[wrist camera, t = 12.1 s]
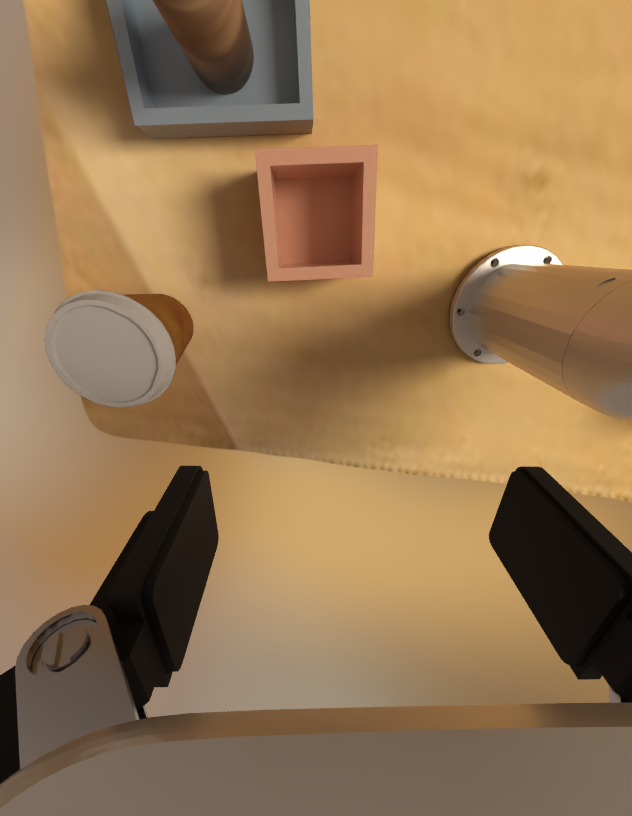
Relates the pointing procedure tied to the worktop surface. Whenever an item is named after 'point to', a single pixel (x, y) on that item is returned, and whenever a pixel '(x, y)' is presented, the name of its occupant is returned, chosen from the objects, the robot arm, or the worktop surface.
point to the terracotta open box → (318, 211)
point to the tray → (191, 99)
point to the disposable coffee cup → (118, 345)
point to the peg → (212, 40)
